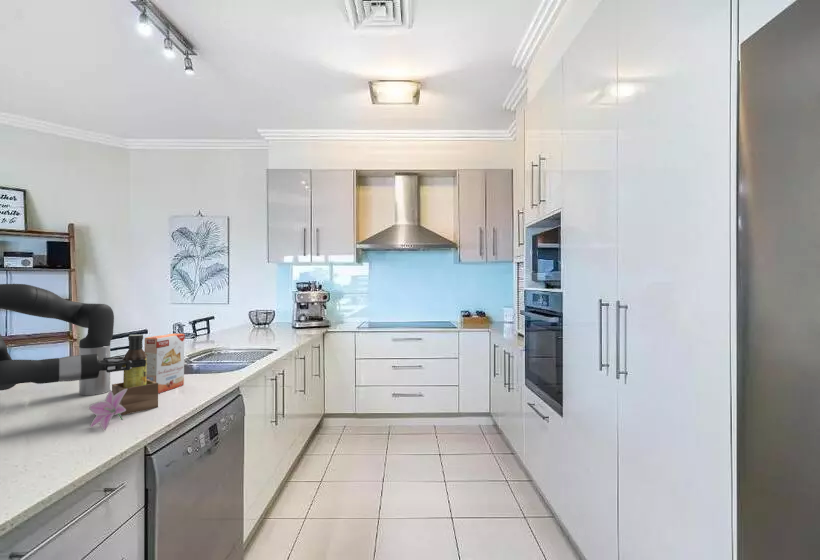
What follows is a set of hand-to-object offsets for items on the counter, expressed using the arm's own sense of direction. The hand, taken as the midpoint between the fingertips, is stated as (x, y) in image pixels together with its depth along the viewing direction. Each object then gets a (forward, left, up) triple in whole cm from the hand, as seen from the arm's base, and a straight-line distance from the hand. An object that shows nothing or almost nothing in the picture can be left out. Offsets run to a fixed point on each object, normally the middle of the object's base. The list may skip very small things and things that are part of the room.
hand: (143, 361), depth 134 cm
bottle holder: (0, -2, -15) cm, 15 cm away
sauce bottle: (0, -2, -11) cm, 11 cm away
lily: (+11, -13, -15) cm, 23 cm away
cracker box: (-18, +13, -15) cm, 27 cm away
